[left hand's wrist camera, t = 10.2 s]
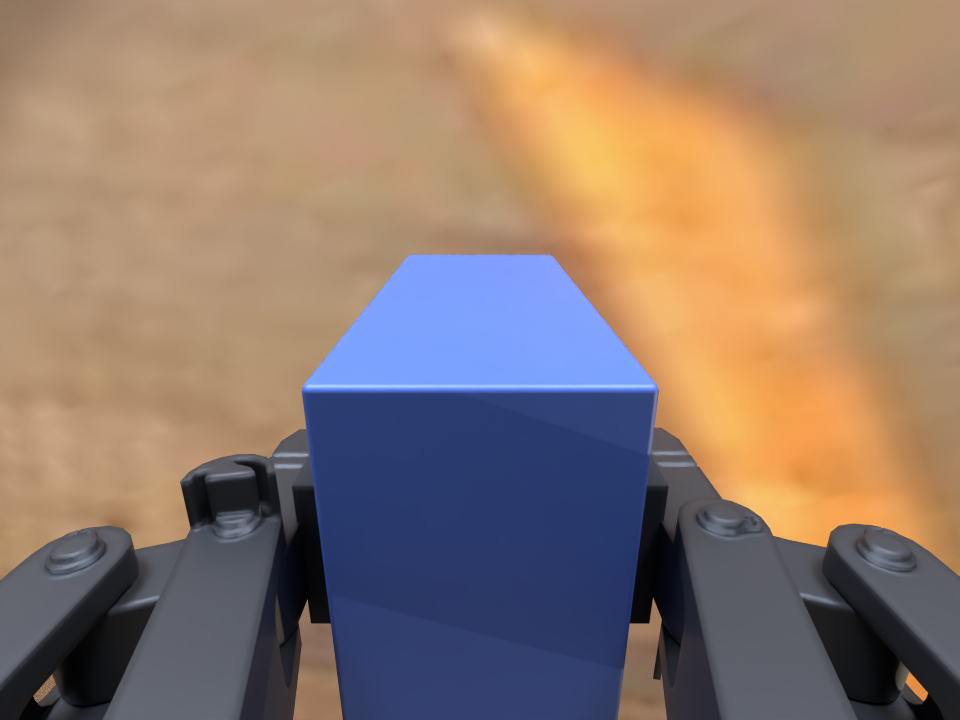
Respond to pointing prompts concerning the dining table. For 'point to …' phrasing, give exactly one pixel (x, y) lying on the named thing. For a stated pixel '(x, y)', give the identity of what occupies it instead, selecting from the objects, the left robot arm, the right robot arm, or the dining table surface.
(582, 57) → the dining table surface
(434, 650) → the block
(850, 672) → the left robot arm
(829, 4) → the dining table surface
